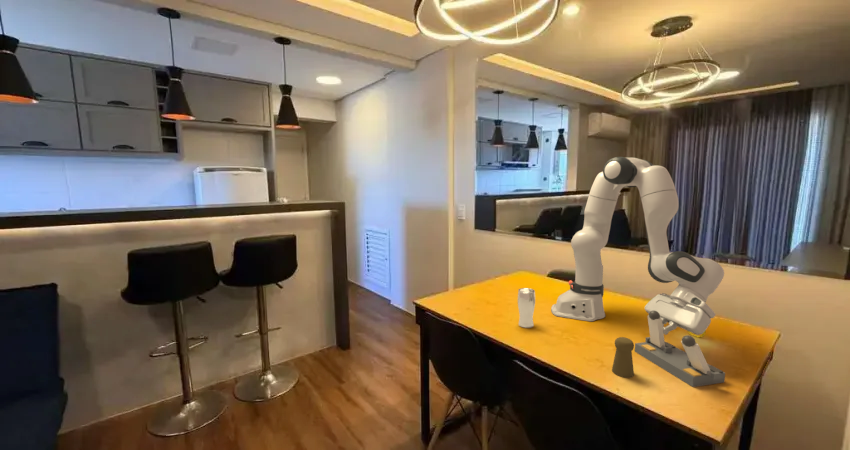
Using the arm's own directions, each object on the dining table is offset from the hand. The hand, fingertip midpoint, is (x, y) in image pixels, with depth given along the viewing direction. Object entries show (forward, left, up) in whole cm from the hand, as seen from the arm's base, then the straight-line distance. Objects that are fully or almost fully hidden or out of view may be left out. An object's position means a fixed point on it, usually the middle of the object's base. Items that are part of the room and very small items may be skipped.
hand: (660, 332), depth 119 cm
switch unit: (+3, -6, -8) cm, 11 cm away
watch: (+18, +21, -9) cm, 29 cm away
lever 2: (+7, -14, -5) cm, 17 cm away
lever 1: (0, 0, -5) cm, 5 cm away
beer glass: (-44, +15, -9) cm, 47 cm away
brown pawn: (-14, -15, -9) cm, 22 cm away
